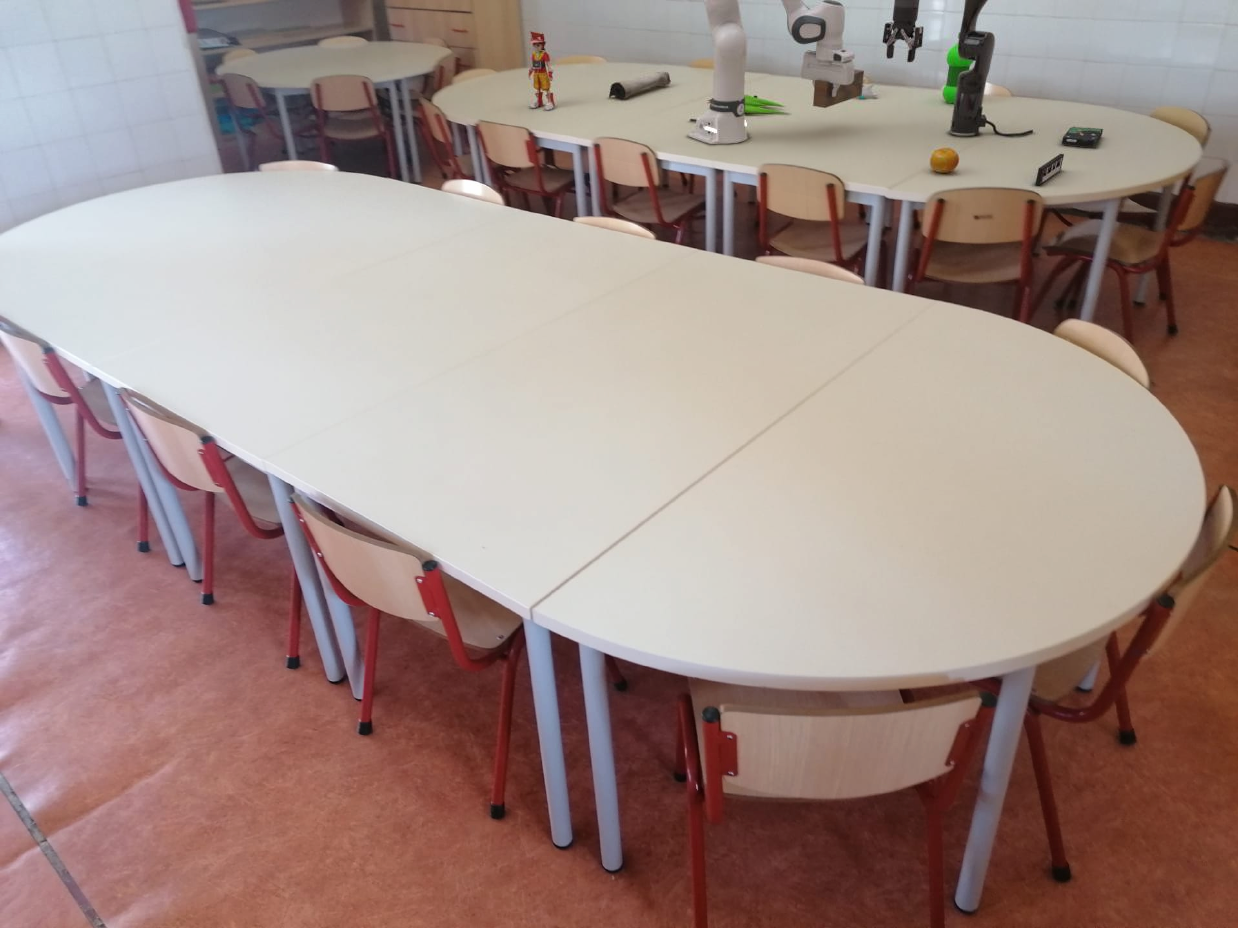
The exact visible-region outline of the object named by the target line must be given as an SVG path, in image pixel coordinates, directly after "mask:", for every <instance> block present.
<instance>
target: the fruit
mask: <svg viewBox="0 0 1238 928" xmlns="http://www.w3.org/2000/svg"><path fill="white" fill-rule="evenodd" d="M959 163H960V156H959V154H958V152H957V151H956V150H955V149H953V148H951V147H942V148H938V149H936V150H934V151H933V153H932V154H931V155H930V159H929V166H930V168H931V169H932V170H933V171H934V172H936V173H939V174H940V173H943V174H944V173H945V174H946V173H951V172H953V171H954V170H956V168H957V167H958V165H959Z"/></svg>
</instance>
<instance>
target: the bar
mask: <svg viewBox="0 0 1238 928" xmlns="http://www.w3.org/2000/svg"><path fill="white" fill-rule="evenodd" d="M864 76H865V70H861V69H855V71H854V81H853V82H852V83H851V84H849V85H841V84H840V87H839V88H838V90H837V91H836V96H835V97H831V96H830V91H833V89H834V87H833V83H830V82H828V81H821V80H816V81H815V87H814V86H813V88H814V89H813V99H812V100H813V102H812V106H813V107H817V108H822V109H823V108H824V109H827V108H829V107H833V106H835V105H838V104H841V103H844V102H847V101H849V100H852V99H855V98H859V96H861V95H862V86H864V83H863V79H864Z"/></svg>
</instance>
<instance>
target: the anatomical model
mask: <svg viewBox="0 0 1238 928" xmlns="http://www.w3.org/2000/svg"><path fill="white" fill-rule="evenodd" d="M866 80H867V78H866V77H865V78H863V84H864V83H865V81H866ZM874 86H875V84H874V83H869V84H868V85H867V86H865V85H863V86H862V95H861V96H858V98H859V99H861V100H862V99H866V98H871V97H872V98H875V97H877V96H878V93H877V92H873V91H872V88H873V87H874Z"/></svg>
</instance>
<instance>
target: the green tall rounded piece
mask: <svg viewBox="0 0 1238 928" xmlns="http://www.w3.org/2000/svg"><path fill="white" fill-rule="evenodd" d="M959 35H960V31H959V32H958V36H957V39H959ZM946 63H947V64H948V69H947V70H948V71H947V76H946V77H947V78H946V84H945V85H944V87H943V90H942V97H943V99H944V100H945V101H946V102H947V103H948V104H954V103H955V96H956V90H957V83H958V77H959V74H960V73H961V72H963V71H967V70H970V67H971V65H972V64H973V63H974V61H971V60H964V59H961V58H960V57H959V56H958V42H957V43H956V44H954V45H953V46H952V47H951V48H950V49H949V50H948V52H947V54H946Z"/></svg>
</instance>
